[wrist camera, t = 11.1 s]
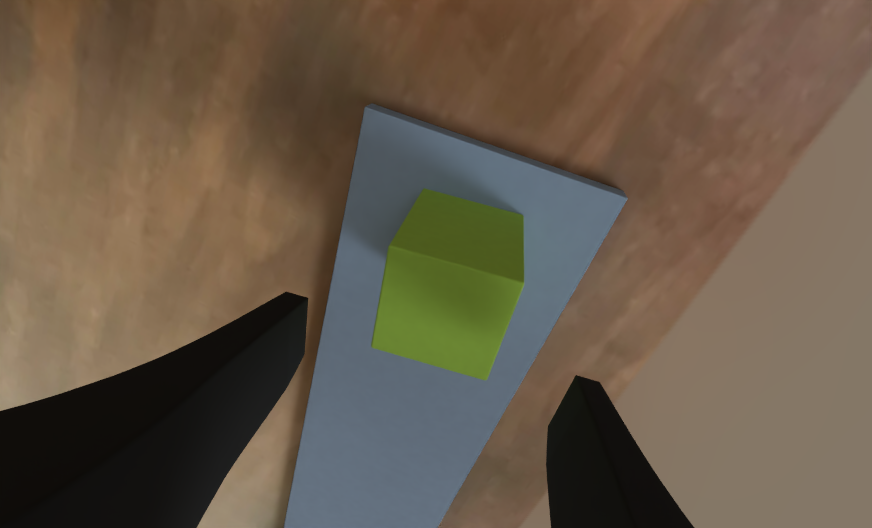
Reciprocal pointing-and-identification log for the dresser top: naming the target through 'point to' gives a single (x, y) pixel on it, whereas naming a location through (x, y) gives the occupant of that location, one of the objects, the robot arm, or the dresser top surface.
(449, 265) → the cube
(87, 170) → the dresser top surface
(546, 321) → the mat
